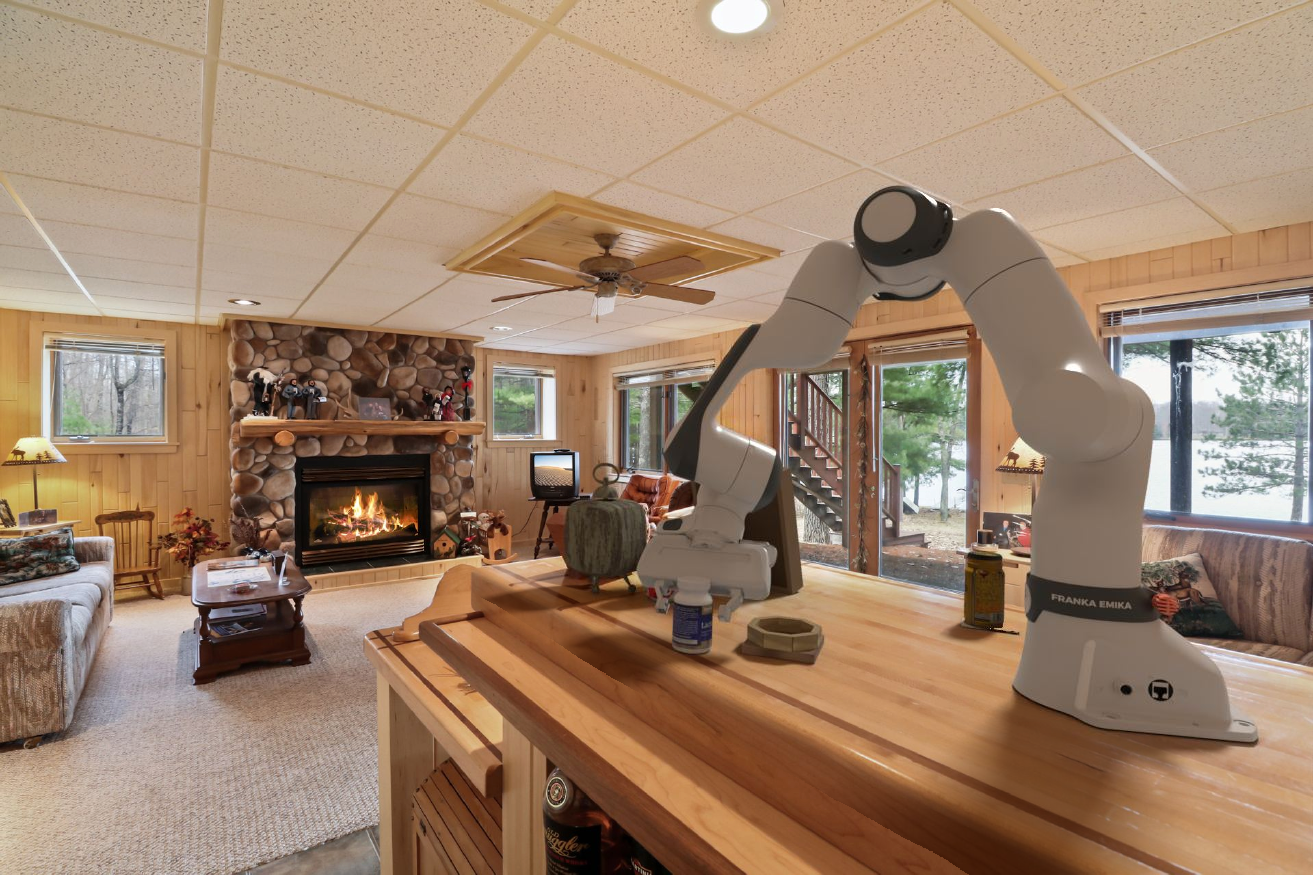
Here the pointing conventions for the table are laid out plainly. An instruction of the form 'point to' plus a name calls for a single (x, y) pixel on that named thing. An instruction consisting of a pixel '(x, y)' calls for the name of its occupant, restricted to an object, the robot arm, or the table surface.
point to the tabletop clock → (605, 534)
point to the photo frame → (776, 534)
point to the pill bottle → (692, 615)
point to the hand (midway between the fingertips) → (691, 615)
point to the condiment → (984, 591)
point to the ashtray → (784, 638)
